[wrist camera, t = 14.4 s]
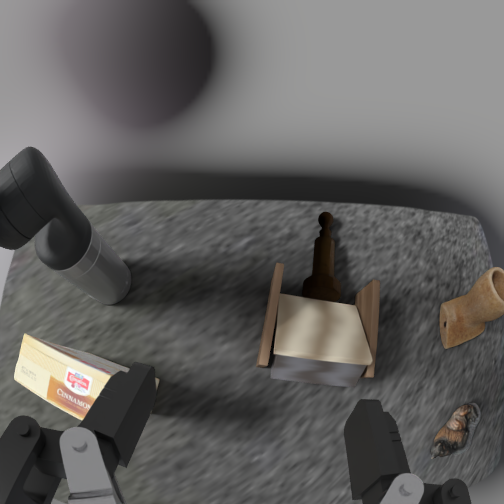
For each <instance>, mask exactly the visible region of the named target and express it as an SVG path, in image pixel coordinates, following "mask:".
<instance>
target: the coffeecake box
mask: <svg viewBox="0 0 504 504" xmlns="http://www.w3.org/2000/svg"><path fill="white" fill-rule="evenodd" d="M120 370H121V371H124V372H128V371H129V368H127V367H124V366H121V365H119V364H116V363H114V362H111V361H108V360H106V359H103V358H101V357H98V356H96V355H94V354H91V353H87V352H83V351H79V350H75V349H72V348H68V347H64V346H61V345H57V344H54V343H51V342H48V341H45V340H42V339H38V338H35V337H32V336H29V335H27V334H24V337H23V341H22V345H21V350H20V355H19V359H18V362H17V364H16V369H15V375H14V379H15V380H16V381H18V382H19V383H20V384H22V385H23V386H25V387H26V388H28V389H29V390H30V391H32V392H34V393H35V394H37V395H38V396H40V397H41V398H43V399H45V400H46V401H48V402H49V403H51V404H53V405H55V406H56V407H58V408H60V409H62V410H63V411H65V412H67V413H69V414H71V415H72V416H74V417H76V418H78V419H80V420H83V419H84V417H85V416H86V414H87V412H88V411H89V409H90V408H91V406H92V405H93V403H94V401H95V400H96V398H97V397H98V396H99V394H100V392H101V391H102V389H104V386H105V384H106V383H107V381H108V380H109V378H110V377H111V376H113V375H114V374H116V373H117V372H119V371H120ZM155 379H156V389H157V387H158V384H159V379H158V378H155ZM151 412H152V411H151ZM150 414H151V413H150Z"/></svg>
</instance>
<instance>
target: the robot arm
mask: <svg viewBox="0 0 504 504" xmlns="http://www.w3.org/2000/svg"><path fill="white" fill-rule="evenodd" d="M35 235H36V236H35ZM34 236H35V250H36V253H37V255H38V257H39V259H40V260H41V261H42V262H43V263H44V264H45V265H47V266H48V267H49V268H51V269H52V270H53V271H55V272H56V273H58V274H59V275H60V276H62V277H63V278H65V279H66V280H67V281H69V282H70V283H72V284H73V285H74V286H76V287H77V288H79V289H80V290H82V291H83V292H85V293H86V294H88V295H89V296H90V297H92V298H94V299H95V300H97V301H98V302H100V303H102V304H105V305H111V304H115V303H117V302H119V301H121V300H122V299H123V298H124V297H125V296H126V294H127V293H128V291H129V289H130V286H131V272H130V270H129V268H128V267H127V265H126V264H125V263H124V262H123V261H122V260H121V258H120V257H119V256H118V255H117V254H116V253H115V251H114V250H113V249H112V248H111V247H110V246H109V244H108V243H107V242H106V241H105V240H104V238H103V237H102V236H101V235H100V234H99V232H98V231H97V230H96V229H95V228H94V226H93V225H92V224H91V223H90V221H89V220H88V219H87V218H86V216H85V215H84V214H83V213H82V211H81V210H80V209H79V208H78V206H77V205H76V204H75V203H74V201H73V200H72V198H71V197H70V196H69V194H68V193H67V191H66V190H65V188H64V186H63V185H62V183H61V181H60V180H59V178H58V176H57V175H56V173H55V171H54V170H53V168H52V166H51V165H50V163H49V162H48V160H47V159H46V158H45V157H44V155H43V154H42V153H41V152H40V151H39V150H37V149H36V148H33V147H27V148H25V149H23V150H22V151H21V152H20V153H18V154H17V155H16V156H15V157H14V158H13V159H12V160H11V161H9V162H8V163H7V164H6V165H5V166H4V167H3V168H2V169H1V170H0V247H3V248H6V249H10V250H15V249H18V248H20V247H22V246H23V245H25V244H26V243H27V242H28V241H29V240H31V239H32V238H33V237H34ZM156 396H157V389H156V379H155V369H154V367H152V366H149V365H145V364H142V363H139V362H134V363H133V364H132V366H131V368H130V369H129V371H128V372H124V371H121V370H120V371H119V372H117V373H116V374H114V375H113V376H111V377H110V378H109V380H108V381H107V383H106V384H105V386H104V389H102V391H101V392H100V394H99V396H98V397H97V398H96V400H95V401H94V403H93V405H92V406H91V408H90V409H89V411H88V412H87V414H86V416H85V417H84V419H83V420H82V422H81V423H80V424H79V425H78V426H77V427H72V428H69V429H67V430H66V431H57V430H52V429H47V428H42V427H40V426H39V424H38V423H37V421H36V420H35V419H33V418H31V417H29V416H18V417H16V418H14V419H13V420H12V421H11V423H10V424H9V426H8V427H7V429H6V430H5V432H4V433H3V435H2V436H1V438H0V504H51V501H52V499H53V497H54V495H55V492H56V490H57V488H58V485H59V483H60V481H61V479H62V478H64V479H67V481H68V485H69V489H70V496H69V497H68V501H69V504H126V501H125V499H124V497H123V494H122V492H121V489H120V487H119V484H118V481H117V479H116V476H115V473H114V472H115V470H116V468H117V466H118V465H121V466H123V467H126V468H127V465H128V463H129V461H130V458H131V456H132V454H133V452H134V449H135V447H136V445H137V442H138V440H139V438H140V436H141V433H142V431H143V429H144V427H145V425H146V422H147V420H148V418H149V416H150V413H151V411H152V409H153V407H154V404H155V401H156ZM398 432H399V431H398V428H397V424H396V421H395V420H394V419H393V417H392V416H391V415H390V414H389V412H383V409H382V405H381V402H380V401H379V400H366V399H361V400H359V402H358V403H357V405H356V407H355V408H354V410H353V412H352V413H351V415H350V417H349V418H348V420H347V421H346V424H345V428H344V437H345V444H346V451H347V458H348V466H349V474H350V482H351V491H352V500H360V499H362V501H363V504H471V500H470V496H469V492H468V488H467V486H466V484H465V483H464V482H463V481H461V480H460V479H450V480H448V481H446V482H445V483H444V484H443V485H435V484H426V483H423V482H422V481H421V479H420V478H419V477H418V476H416V475H414V474H411V472H410V469H409V466H408V462H407V458H406V455H405V451H404V448H403V444H402V442H401V437H400V434H399V433H398Z"/></svg>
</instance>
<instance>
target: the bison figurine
mask: <svg viewBox="0 0 504 504" xmlns="http://www.w3.org/2000/svg"><path fill="white" fill-rule="evenodd" d="M480 418H481V411H480V409H479V407H478V405H477V404H476V403H469V404H467V405H463V406H461V407H459V408H458V409H457V410H456V411H455V412H454V413H453V414H452V417H451V418H450V420H449V421H448V422H447V423H446V424H445V425H444V426H443V427H442V428H441V429H440V431H439V432H438V434H437V435H436V437H435V439H434V444H433V446H432V448H431V455H432V459H433V458H436V457H437V456H440V457H444V456H447V455H451V454H452V455H459V454H462V453H464V452H465V451H466V450H467V449H468V448H469V447H470V445H471V440H472V437H473V435H474V430H475V428H476V426H477V423H478V422H479V421H480Z"/></svg>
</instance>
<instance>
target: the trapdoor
mask: <svg viewBox="0 0 504 504" xmlns="http://www.w3.org/2000/svg"><path fill="white" fill-rule="evenodd" d="M371 362H372V356H371V353H370V349H369V346H368V343H367V339H366V336H365V333H364V329H363V326H362V323H361V320H360V317H359V313H358V310H357V307H356V306H355V305H348V304H342V303H335V302H329V301H323V300H316V299H310V298H304V297H298V296H292V295H286V294H281V293H280V295H279V301H278V307H277V319H276V332H275V344H274V356H273V360H272V368H271V378H274V379H281V380H288V381H296V382H304V383H312V384H322V385H333V386H345V387H355V385H356V384H357V382H358V380H359V378H360V376H361V375H362V373H363V371H364V369H365V367H366V366H367V365H370V364H371Z"/></svg>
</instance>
